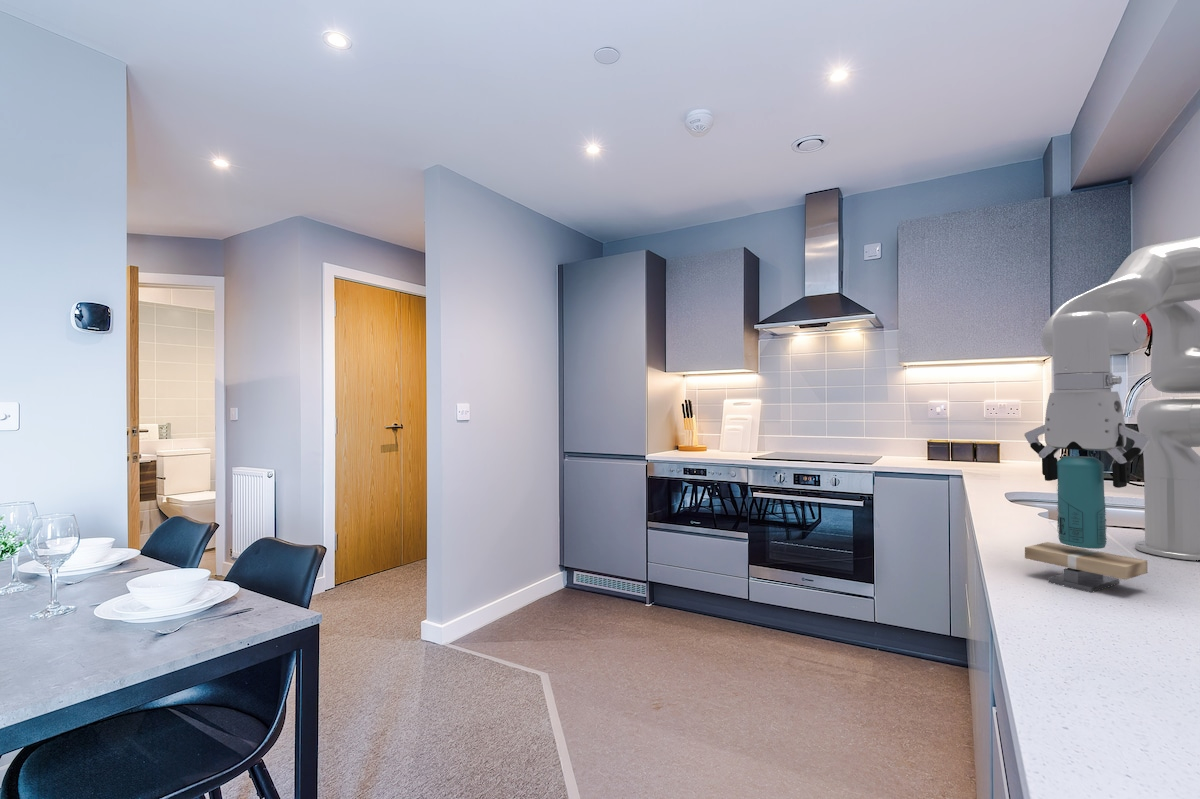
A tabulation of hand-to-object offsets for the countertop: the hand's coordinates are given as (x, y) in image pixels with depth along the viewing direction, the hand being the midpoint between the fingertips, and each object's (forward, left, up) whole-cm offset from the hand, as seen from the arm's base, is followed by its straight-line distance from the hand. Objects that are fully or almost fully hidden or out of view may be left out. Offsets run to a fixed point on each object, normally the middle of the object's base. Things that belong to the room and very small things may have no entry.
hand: (1084, 483), depth 98 cm
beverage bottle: (0, 0, -12) cm, 12 cm away
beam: (+1, 0, -14) cm, 14 cm away
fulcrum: (+1, 0, -17) cm, 17 cm away
